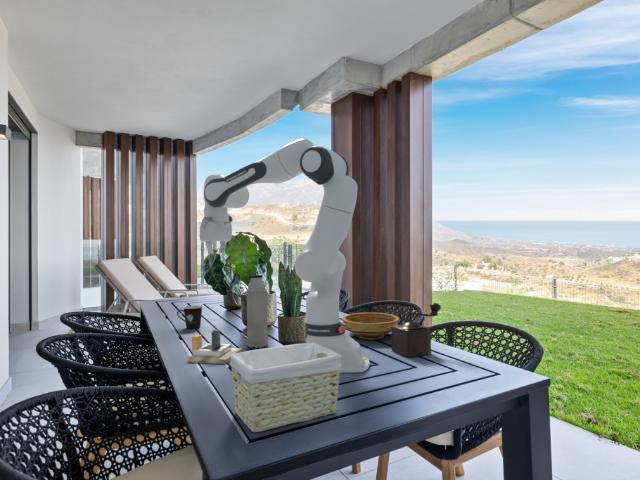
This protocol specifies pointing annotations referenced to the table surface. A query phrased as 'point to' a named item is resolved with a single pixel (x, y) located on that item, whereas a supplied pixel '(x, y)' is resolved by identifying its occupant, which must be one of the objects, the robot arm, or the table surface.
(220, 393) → the table surface
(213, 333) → the post
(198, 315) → the coffee mug
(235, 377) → the storage basket
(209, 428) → the table surface
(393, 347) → the manual coffee grinder
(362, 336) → the ceramic bowl
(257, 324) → the thermos bottle
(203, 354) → the white holder stand
